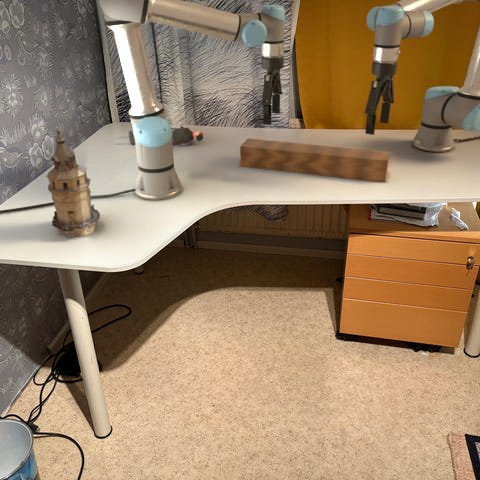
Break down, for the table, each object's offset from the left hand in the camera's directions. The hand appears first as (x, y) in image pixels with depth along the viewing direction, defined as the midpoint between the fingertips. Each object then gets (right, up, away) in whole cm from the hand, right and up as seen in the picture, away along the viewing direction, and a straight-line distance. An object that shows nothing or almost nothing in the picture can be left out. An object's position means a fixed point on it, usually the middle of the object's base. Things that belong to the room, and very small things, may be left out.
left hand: (271, 118), depth 189 cm
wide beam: (+15, -17, +4) cm, 23 cm away
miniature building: (-58, -40, -33) cm, 78 cm away
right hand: (+34, -6, -13) cm, 37 cm away
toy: (-41, -3, +32) cm, 52 cm away
